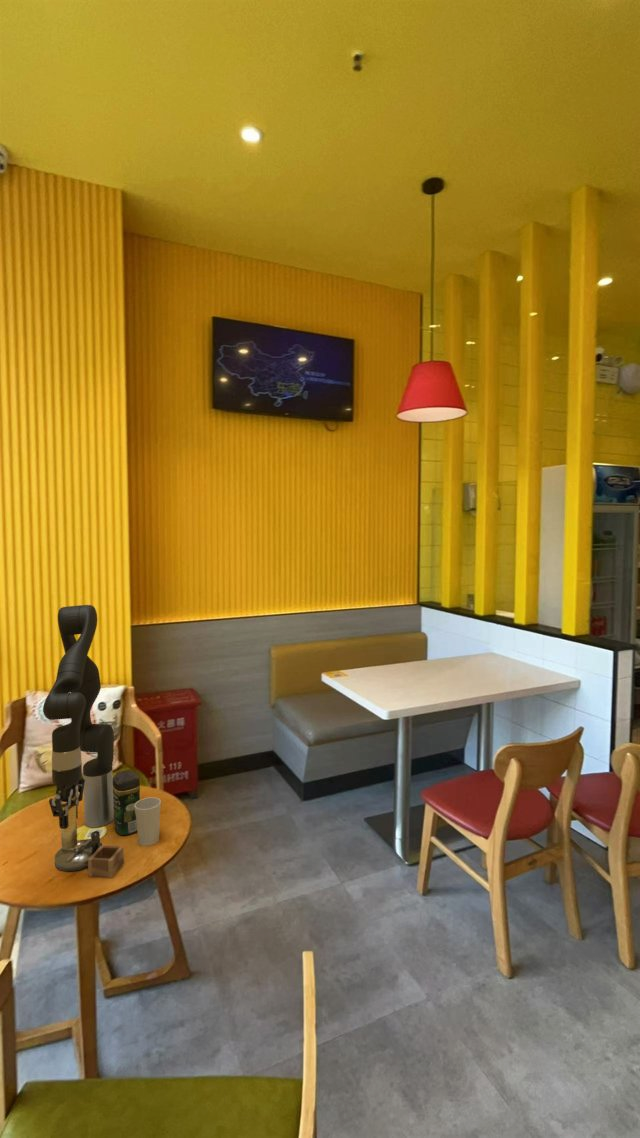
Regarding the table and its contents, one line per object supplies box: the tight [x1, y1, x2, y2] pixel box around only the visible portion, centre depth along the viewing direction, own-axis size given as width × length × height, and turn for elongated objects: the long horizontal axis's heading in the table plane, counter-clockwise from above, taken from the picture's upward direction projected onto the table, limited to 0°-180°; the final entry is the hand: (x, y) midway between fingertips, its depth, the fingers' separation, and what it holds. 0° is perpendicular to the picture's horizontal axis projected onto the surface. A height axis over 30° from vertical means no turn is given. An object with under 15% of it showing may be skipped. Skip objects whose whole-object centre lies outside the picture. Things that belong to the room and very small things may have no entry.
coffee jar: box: [113, 769, 141, 836], centre depth 175 cm, size 10×8×19 cm
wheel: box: [54, 830, 104, 872], centre depth 159 cm, size 13×13×8 cm
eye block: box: [87, 845, 125, 879], centre depth 153 cm, size 7×7×5 cm
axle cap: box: [74, 839, 85, 852], centre depth 159 cm, size 3×3×2 cm
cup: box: [134, 796, 162, 847], centre depth 168 cm, size 8×8×12 cm
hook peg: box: [60, 804, 78, 849], centre depth 150 cm, size 4×4×11 cm
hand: (68, 823), depth 150 cm, fingers closed on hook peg, 4 cm apart
